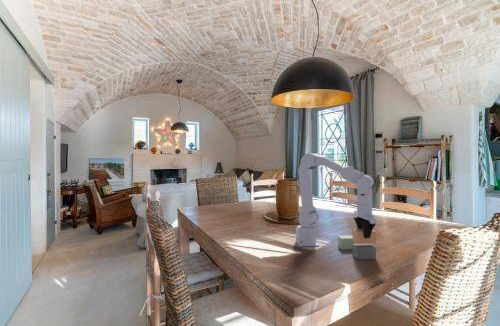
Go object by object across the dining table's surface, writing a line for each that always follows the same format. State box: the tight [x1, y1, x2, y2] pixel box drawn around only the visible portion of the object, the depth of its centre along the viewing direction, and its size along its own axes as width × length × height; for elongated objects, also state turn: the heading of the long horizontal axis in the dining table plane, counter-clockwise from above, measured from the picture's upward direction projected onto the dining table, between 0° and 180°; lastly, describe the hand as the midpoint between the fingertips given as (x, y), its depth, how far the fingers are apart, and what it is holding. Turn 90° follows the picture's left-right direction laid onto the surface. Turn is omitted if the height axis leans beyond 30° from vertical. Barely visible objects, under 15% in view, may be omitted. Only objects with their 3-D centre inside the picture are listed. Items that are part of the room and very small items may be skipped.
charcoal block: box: [352, 244, 377, 260], centre depth 104 cm, size 8×4×5 cm, turn 92°
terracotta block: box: [352, 228, 377, 245], centre depth 103 cm, size 8×4×5 cm, turn 92°
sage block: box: [337, 234, 356, 250], centre depth 115 cm, size 8×4×5 cm, turn 91°
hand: (364, 236), depth 103 cm, fingers closed on terracotta block, 4 cm apart
